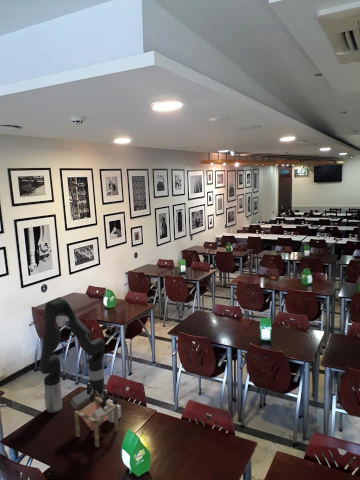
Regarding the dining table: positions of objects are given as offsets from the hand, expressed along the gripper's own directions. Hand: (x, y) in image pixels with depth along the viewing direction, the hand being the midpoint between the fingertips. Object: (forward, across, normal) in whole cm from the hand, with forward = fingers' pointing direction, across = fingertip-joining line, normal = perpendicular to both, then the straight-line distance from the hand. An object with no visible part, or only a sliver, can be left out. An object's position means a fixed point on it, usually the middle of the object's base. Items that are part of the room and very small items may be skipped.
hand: (98, 404), depth 193 cm
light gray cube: (+9, -1, 0) cm, 9 cm away
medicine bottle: (+18, -4, +14) cm, 23 cm away
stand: (+18, -2, 0) cm, 18 cm away
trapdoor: (+7, -8, 0) cm, 11 cm away
